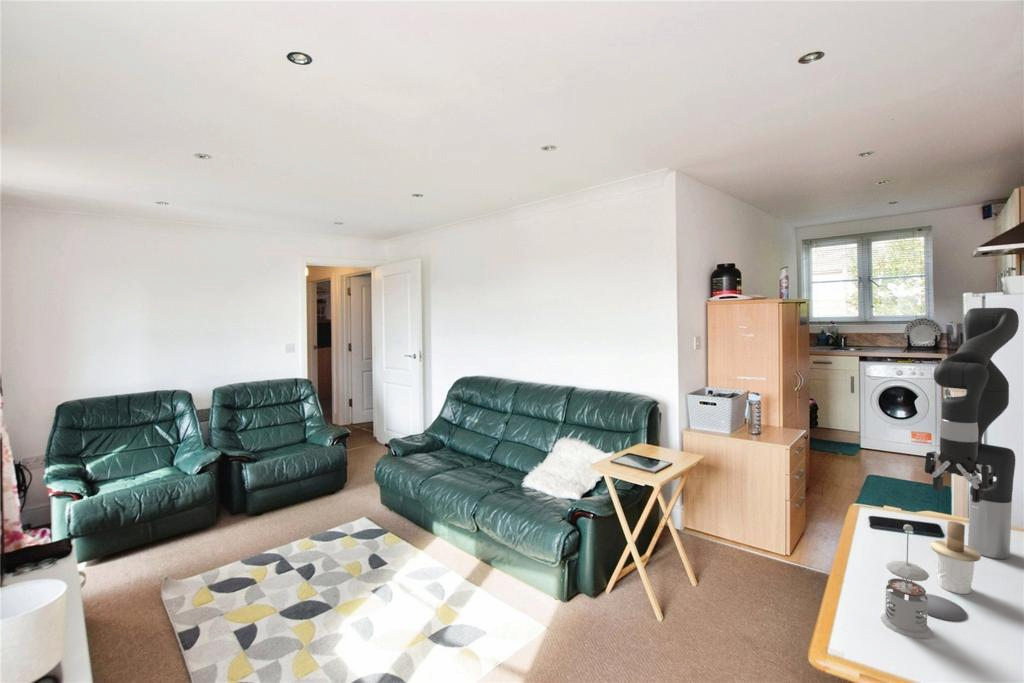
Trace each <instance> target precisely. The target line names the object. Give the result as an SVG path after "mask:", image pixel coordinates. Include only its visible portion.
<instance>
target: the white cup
mask: <svg viewBox="0 0 1024 683" xmlns="http://www.w3.org/2000/svg"><path fill="white" fill-rule="evenodd" d="M935 564H936V575H937V585H938V586H940V588H942V589H944V590H946V591H948V592H951V593H955V594H960V595H969V594H970V593H971V591H972V583H973V579H974V570H975V562H968V561H960V560H955V559H951V558H948V557H945V556H943V555H940V554H938V553H937V552H935Z"/></svg>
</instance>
